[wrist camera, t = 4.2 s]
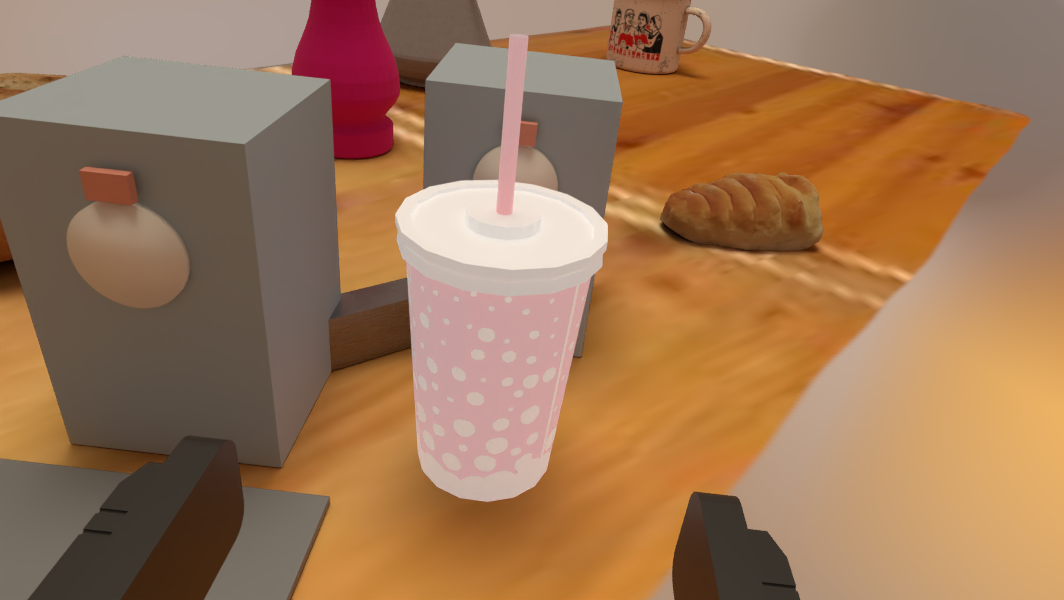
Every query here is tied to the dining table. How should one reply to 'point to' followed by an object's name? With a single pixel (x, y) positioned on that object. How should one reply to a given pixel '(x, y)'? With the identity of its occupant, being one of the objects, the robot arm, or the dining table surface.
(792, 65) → the dining table surface
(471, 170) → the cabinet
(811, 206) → the pastry
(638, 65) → the teacup with lid
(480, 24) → the coffee pot
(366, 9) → the pepper mill
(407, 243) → the beverage cup
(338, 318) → the track rail
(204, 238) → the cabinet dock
